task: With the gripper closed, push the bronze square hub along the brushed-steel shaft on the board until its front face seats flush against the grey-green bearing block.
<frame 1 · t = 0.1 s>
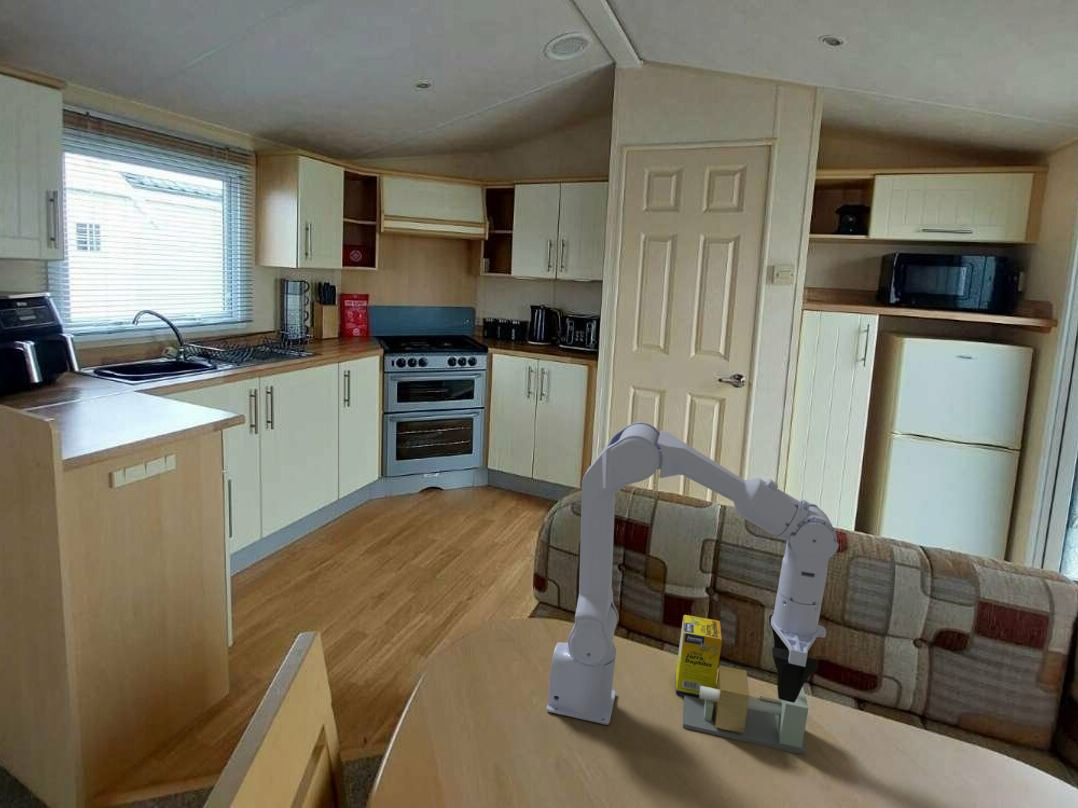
hand: (784, 683, 91), 10 cm above the table, fingers open, 7 cm apart
shaft rig: (741, 725, 97), on the table
hub: (731, 698, 96), point 4 cm above the table, slide at 0.0 cm
supplement box: (693, 688, 105), on the table
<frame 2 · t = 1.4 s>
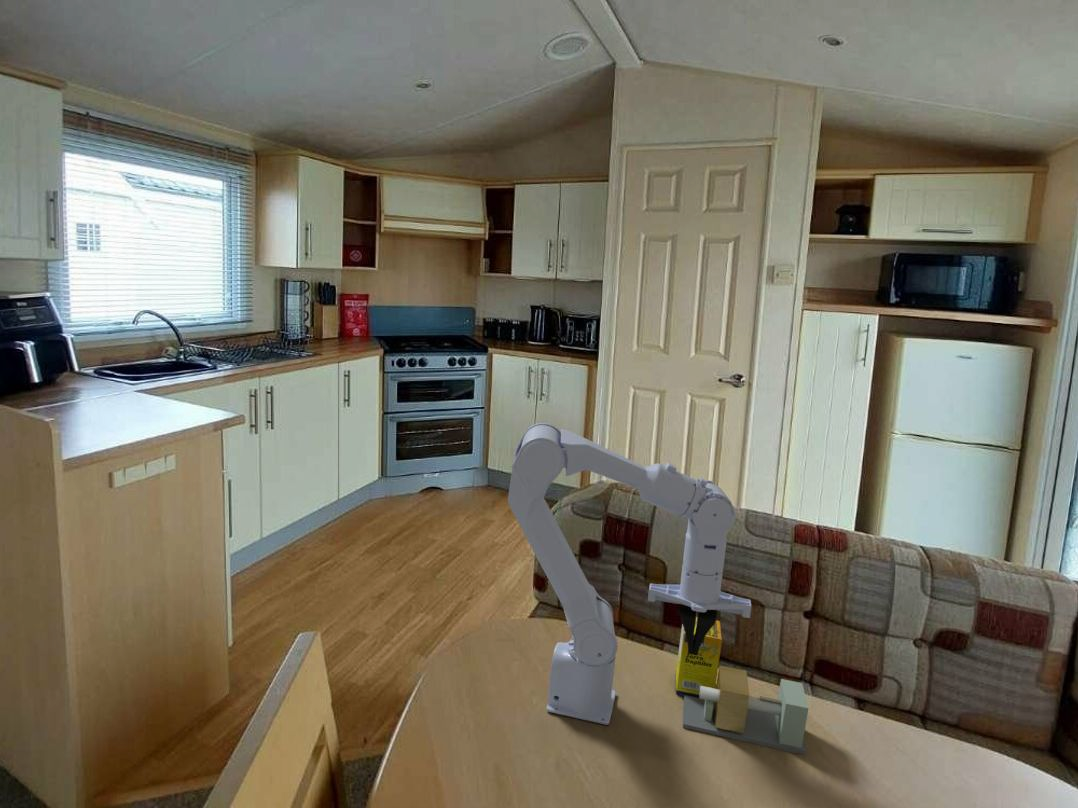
hand: (692, 651, 97), 10 cm above the table, fingers closed
nothing on the table moved.
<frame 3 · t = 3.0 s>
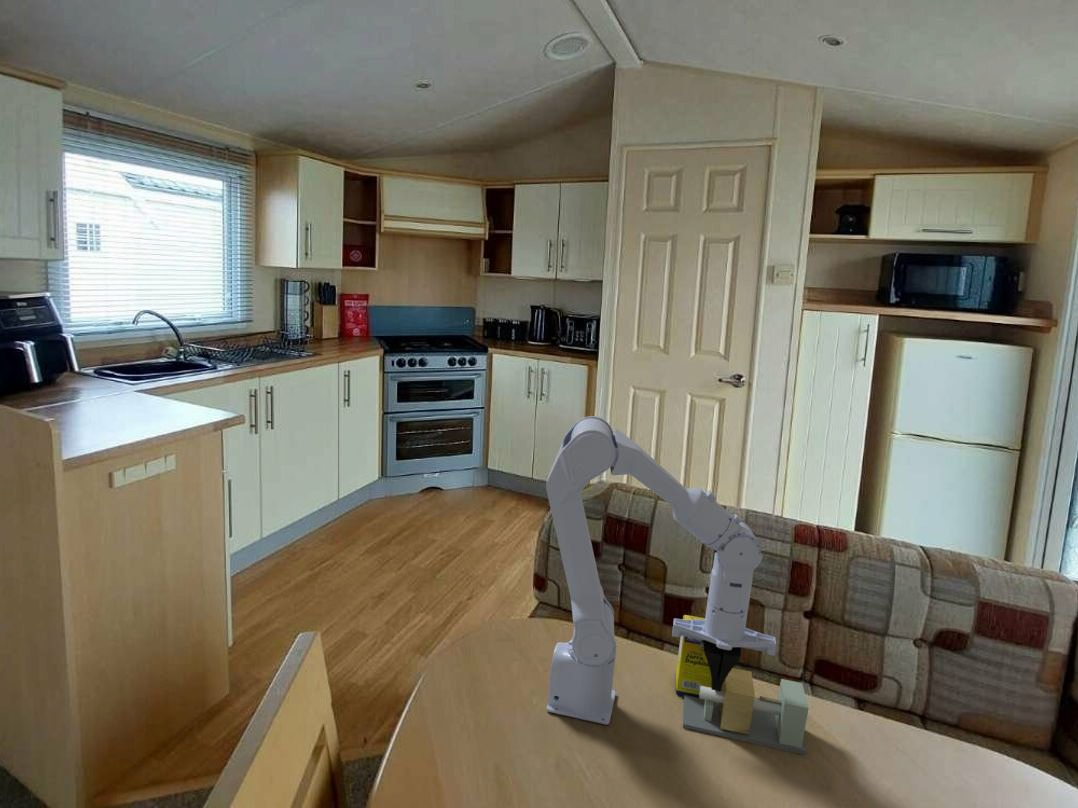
hand: (716, 686, 97), 5 cm above the table, fingers closed
hub: (736, 699, 96), point 4 cm above the table, slide at 0.8 cm, touching gripper
everything else where it was.
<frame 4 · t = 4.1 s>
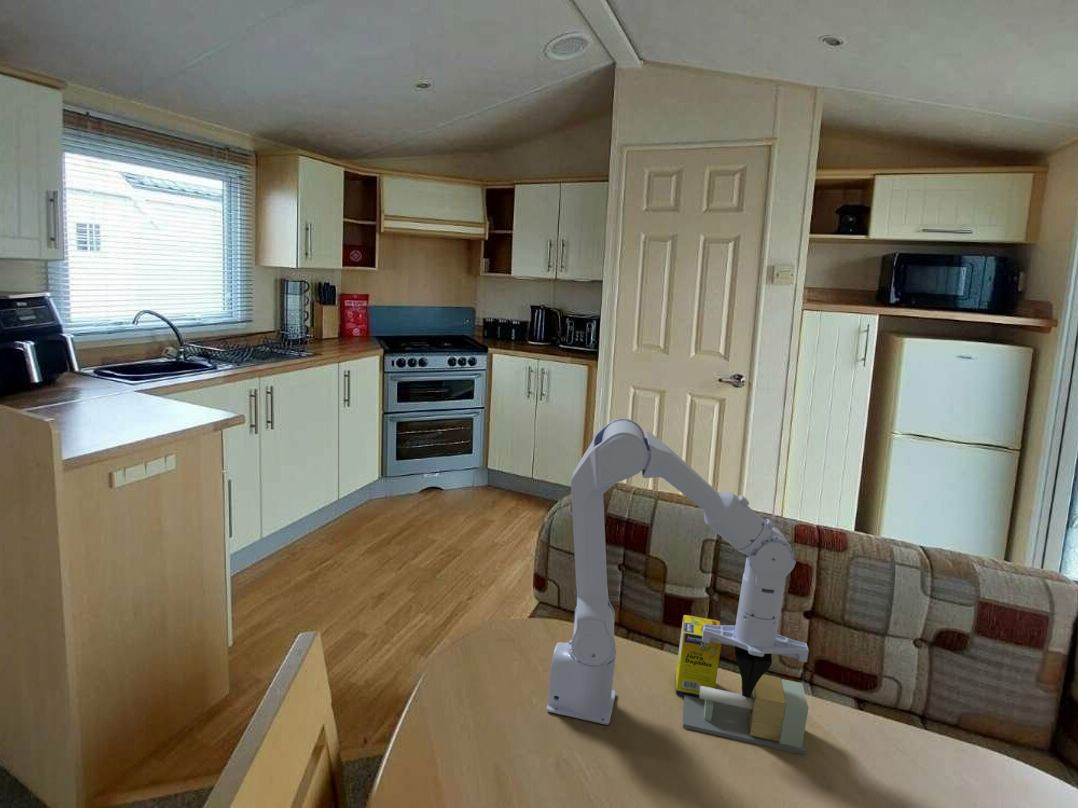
hand: (746, 693, 96), 5 cm above the table, fingers closed
hub: (765, 705, 95), point 4 cm above the table, slide at 4.9 cm, touching gripper
everything else where it was.
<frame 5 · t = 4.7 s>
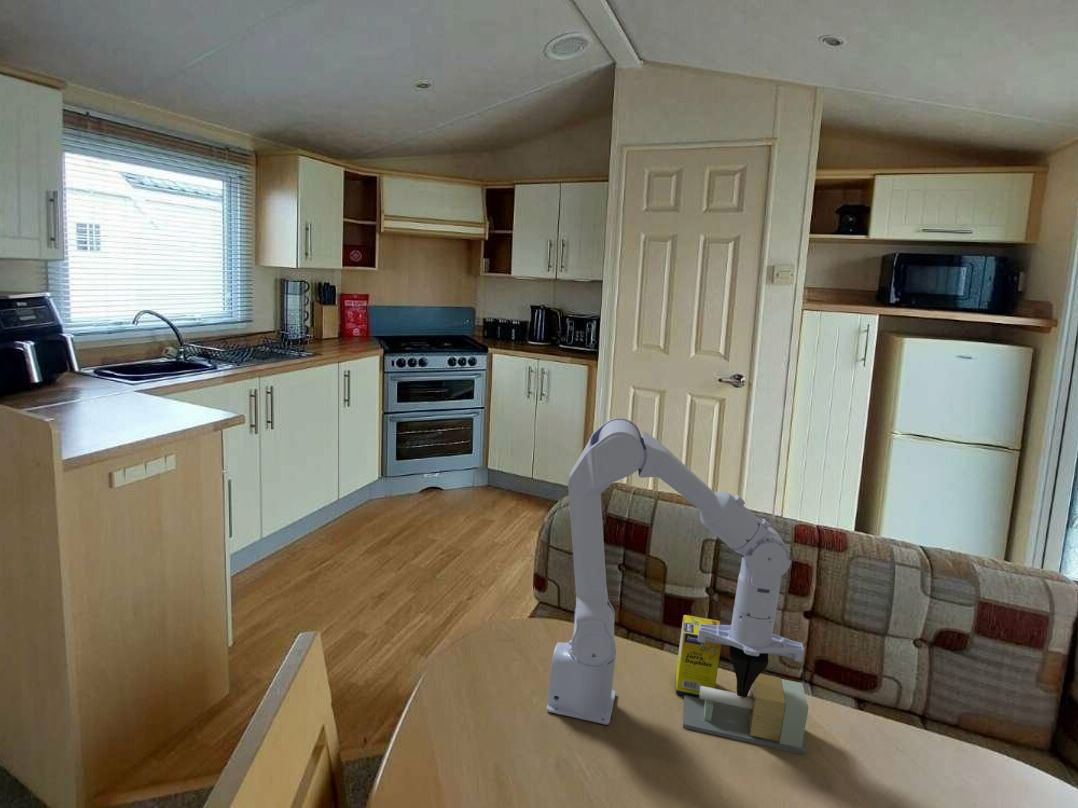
hand: (741, 692, 96), 5 cm above the table, fingers closed
hub: (765, 705, 95), point 4 cm above the table, slide at 4.9 cm
everything else where it was.
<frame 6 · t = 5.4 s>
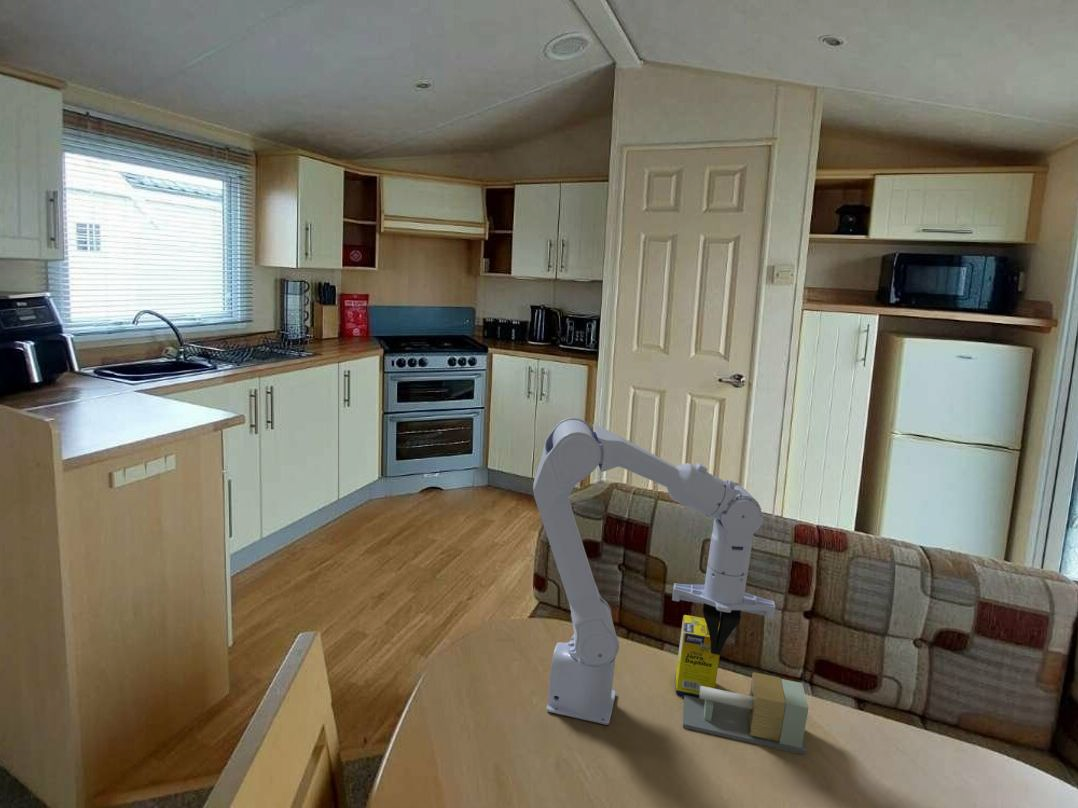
hand: (715, 650, 98), 10 cm above the table, fingers closed
nothing on the table moved.
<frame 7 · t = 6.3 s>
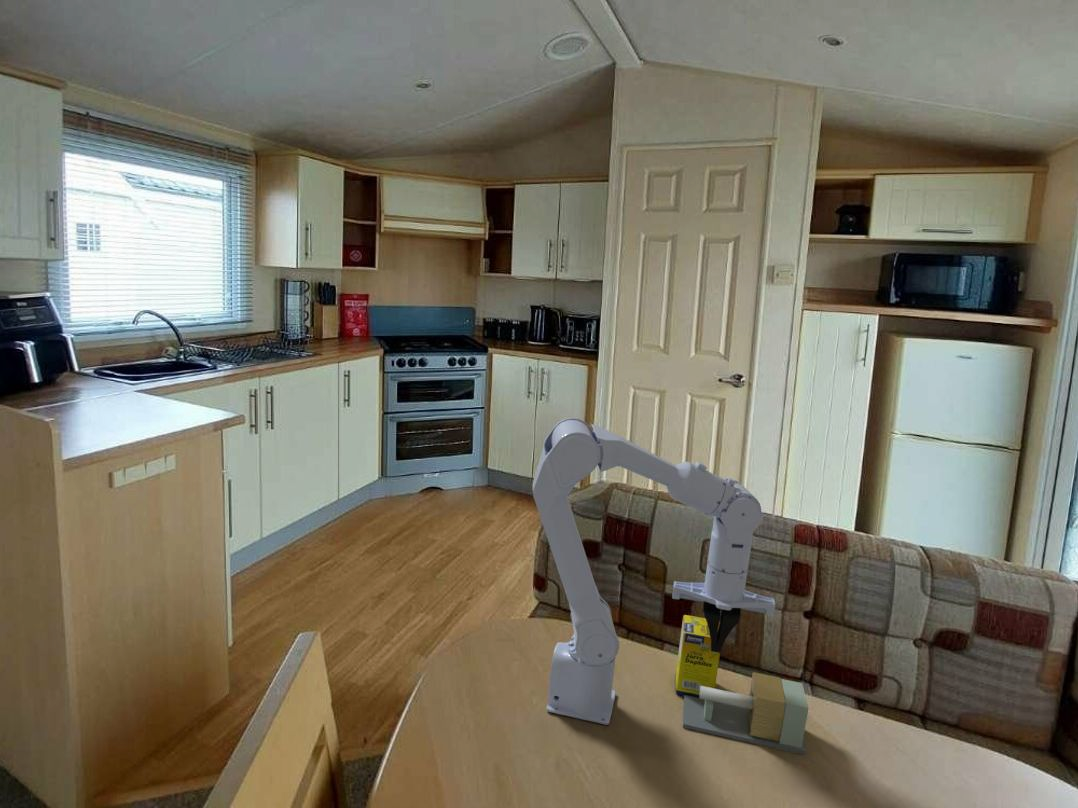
hand: (715, 648, 98), 10 cm above the table, fingers closed
nothing on the table moved.
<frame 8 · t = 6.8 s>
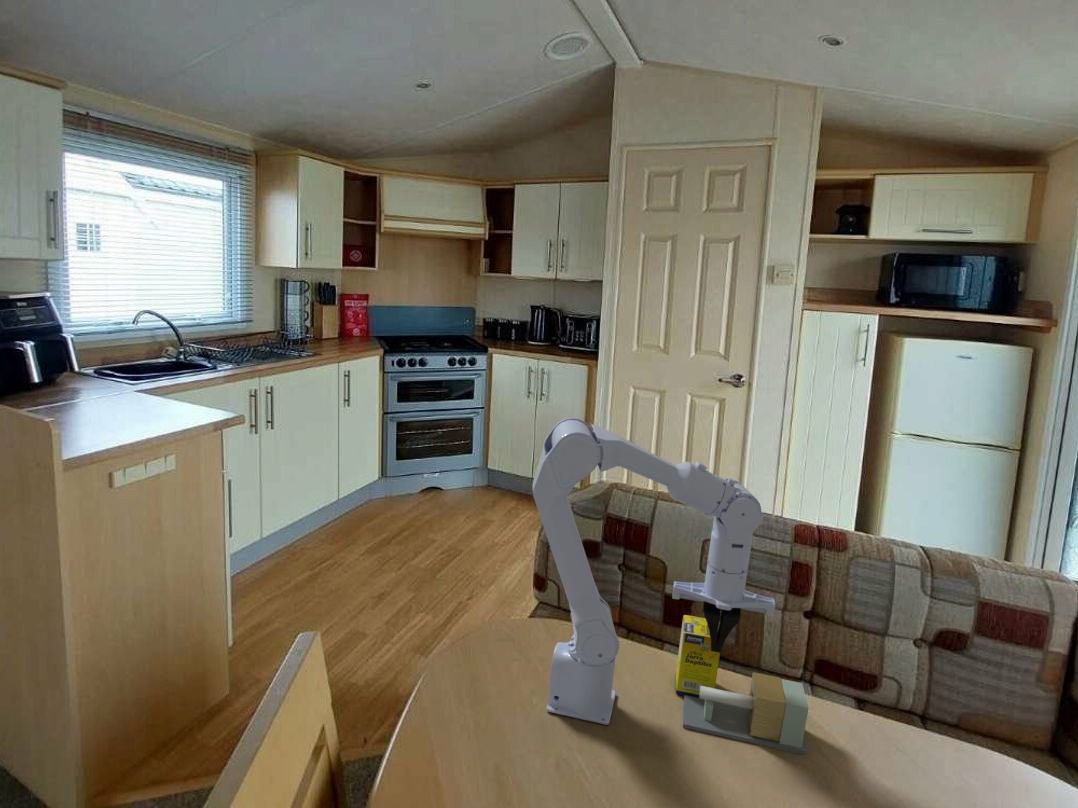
hand: (715, 648, 98), 10 cm above the table, fingers closed
nothing on the table moved.
at the end: hub slide at 4.9 cm; hub touching nothing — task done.
